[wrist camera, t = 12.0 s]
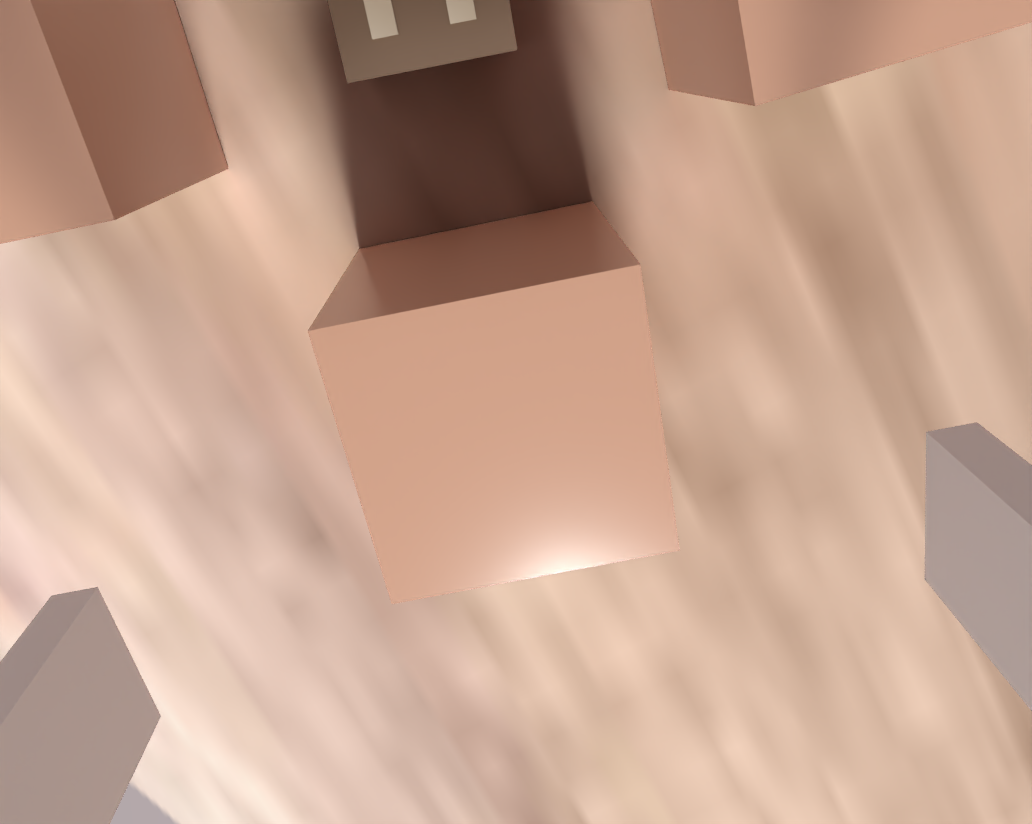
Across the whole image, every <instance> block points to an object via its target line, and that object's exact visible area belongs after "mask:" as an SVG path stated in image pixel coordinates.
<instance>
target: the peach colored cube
mask: <svg viewBox="0 0 1032 824" xmlns="http://www.w3.org/2000/svg"><path fill="white" fill-rule="evenodd" d="M651 4H652V9H653V14H654V19H655V24H656V29H657V34H658V39H659V44H660V49H661V54H662V59H663V64H664V68H665V73H666V78H667V83H668V88H669V90H673V91H678V92H683V93H689V94H694V95H699V96H705V97H710V98H715V99H721V100H726V101H731V102H737V103H742V104H747V105H753V106H757V105H760V104H763V103H767V102H770V101H773V100H776V99H780V98H783V97H786V96H790V95H793V94H796V93H800V92H803V91H806V90H809V89H813V88H816V87H819V86H823V85H826V84H829V83H833V82H836V81H839V80H842V79H846V78H849V77H852V76H856V75H859V74H862V73H866V72H869V71H872V70H875V69H879V68H882V67H885V66H889V65H892V64H895V63H899V62H902V61H905V60H908V59H912V58H915V57H918V56H922V55H925V54H928V53H932V52H935V51H938V50H941V49H945V48H948V47H951V46H955V45H958V44H961V43H965V42H968V41H971V40H974V39H978V38H981V37H984V36H988V35H991V34H994V33H998V32H1001V31H1004V30H1007V29H1011V28H1014V27H1017V26H1021V25H1024V24H1027V23H1031V22H1032V0H651Z"/></svg>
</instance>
